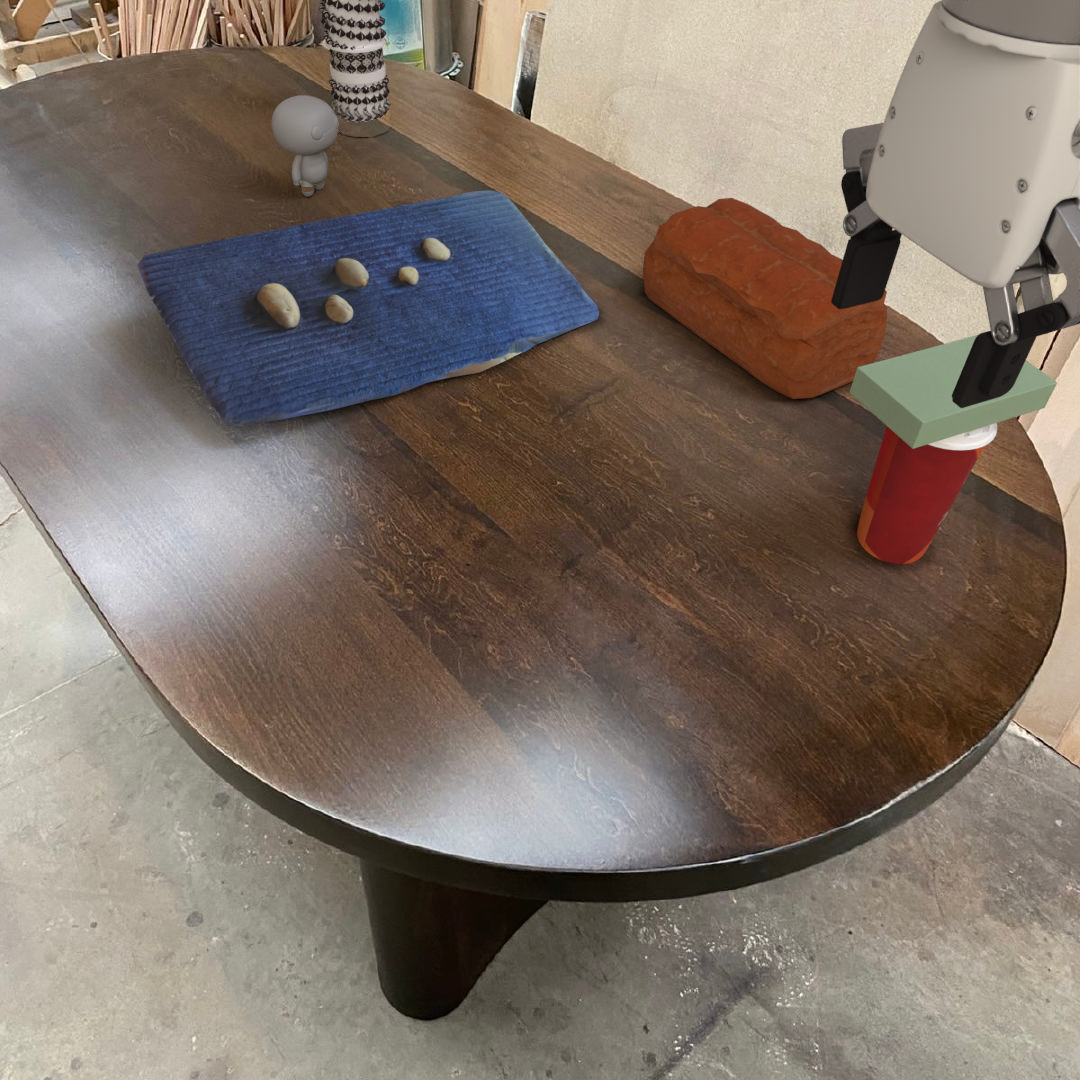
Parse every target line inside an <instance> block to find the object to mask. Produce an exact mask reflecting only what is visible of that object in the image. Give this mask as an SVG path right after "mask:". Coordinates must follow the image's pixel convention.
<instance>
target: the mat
mask: <svg viewBox="0 0 1080 1080" xmlns="http://www.w3.org/2000/svg"><path fill="white" fill-rule="evenodd" d="M137 269H138V271H139V274H140V276H141V280H142V281H143V284H144V287H145V289H146V292H147V293H148V296H149V298H150V299H151V301H152V302H153V304H154V306H155V307H156V309H157V311H158V313H159V315H160V316H161V318H162V320H163V321H164V323H165V325H166V327H167V329H168V331H169V333H170V335H171V336H172V339H173V341H174V343H175V345H176V348H177V349H178V351H179V353H180V355H181V357H182V358H183V360H184V362H185V363H186V366H187V367H188V368H189V371H190V372H191V373H192V375H193V377H194V379H195V380H196V382H197V383H198V386H199V388H200V389H201V391H202V393H204V395H205V397H206V399H207V400H208V402H209V403H210V406H211V407H212V409H213V411H214V412H215V414H216V415H217V417H218V418H219V419H220V420H221V421H222V422H224V423H225V424H226V425H229V426H236V427H243V426H247V425H248V426H249V425H254V424H260V423H261V424H262V423H267V422H268V423H269V422H273V421H274V422H275V421H280V420H285V419H290V418H296V417H302V416H306V415H311V414H317V413H322V412H328V411H333V410H336V409H341V408H345V407H349V406H353V405H357V404H362V403H364V402H369V401H373V400H378V399H383V398H389V397H392V396H397V395H399V394H400V395H401V394H402V393H406V392H408V391H410V390H413V389H416V388H418V387H420V386H423V385H425V384H428V383H433V382H436V381H440V380H441V381H442V380H445V379H449V378H455V377H461V376H469V375H475V374H480V373H482V372H484V371H486V370H488V369H491V368H493V367H495V366H497V365H499V364H502V363H504V362H506V361H508V360H510V359H512V358H514V357H516V356H518V355H520V354H522V353H525V352H527V351H529V350H530V349H532V348H534V347H535V346H537V345H539V344H542V343H544V342H546V341H549V340H551V339H553V338H556V337H558V336H560V335H563V334H566V333H568V332H571V331H573V330H575V329H579V328H580V327H583V326H585V325H589V324H591V323H592V322H595V321H598V319H599V316H600V309H599V307H598V305H597V304H596V302H595V301H594V300H593V299H592V298H591V297H590V296H589V295H588V293H586V291H585V290H584V288H583V287H582V285H581V283H580V282H579V280H578V279H577V278H576V277H575V276H574V275H573V273H571V271H570V270H569V269H568V268H567V267H566V266H565V265H564V264H563V263H562V261H561V260H560V259H559V258H558V256H557V255H556V254H555V253H554V252H553V250H552V249H551V248H550V247H549V246H548V245H547V244H546V243H545V241H544V240H543V239H542V237H541V236H540V235H539V233H538V232H537V231H536V229H535V228H534V227H533V225H532V224H531V223H530V222H529V221H528V219H527V218H526V217H525V216H524V214H523V213H522V212H521V211H520V209H519V208H518V207H517V205H515V203H514V202H513V201H512V200H511V199H510V198H509V197H508V196H507V195H506V194H504V193H502V192H499V191H495V190H476V191H468V192H464V193H460V194H455V195H452V196H447V197H441V198H440V197H439V198H434V199H430V200H424V201H418V202H411V203H407V204H400V205H395V206H393V207H387V208H382V209H377V210H370V211H365V212H359V213H355V214H349V215H348V214H347V215H342V216H338V217H333V218H331V217H330V218H326V219H325V218H324V219H322V220H316V221H311V222H303V223H300V224H298V225H297V224H296V225H290V226H285V227H281V228H277V229H269V230H268V229H267V230H265V231H261V232H253V233H249V234H243V235H238V236H233V237H227V238H221V239H215V240H209V241H206V242H201V243H195V244H190V245H184V246H180V247H175V248H171V249H166V250H162V251H158V252H153V253H149V254H145V255H144V256H143V257H142V258H141V259H140V261H139V262H138V264H137Z"/></svg>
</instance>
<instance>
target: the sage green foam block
mask: <svg viewBox="0 0 1080 1080" xmlns="http://www.w3.org/2000/svg"><path fill="white" fill-rule="evenodd" d="M978 335H979V334H975V335H971V336H968V337H965V338H961V339H957V340H953V341H950V342H946V343H942V344H938V345H935V346H931V347H928V348H927V347H926V348H924V349H919V350H917V351H913V352H909V353H906V354H902V355H898V356H895V357H891V358H887V359H883V360H880V361H874V363H872V364H868V365H864V366H860V367H858V368H857V370H856V373H855V377H854V380H853V381H852V382H851V386H850V390H849V394H850V395H851V396H852V397H853V398H854V399H856V400H857V401H858V402H859V403H860V404H861V405H862V406H863V407H865V408H866V410H868V411H869V412H870V413H872V415H874V416H875V417H876V418H877V419H878V420H879V421H880V422H882V423H883V424H884V425H885V427H886V426H887V427H889V428H890V429H891V430H892V431H893V432H894V433H895V434H896V435H898V436H899V437H900V438H901V439H902V440H903V441H904V442H906V443H907V444H908V445H909V446H910V447H911V448H912V449H914V448H917V447H920V446H924V445H927V444H930V443H933V442H937V441H940V440H943V439H946V438H949V437H953V436H956V435H959V434H962V433H966V432H969V431H972V430H975V429H978V428H982V427H985V426H988V425H991V424H995V423H997V424H998V423H1000V422H1004V421H1007V420H1011V419H1014V418H1017V417H1020V416H1023V415H1027V414H1031V413H1033V412H1036V411H1040V410H1042V409H1045V408H1046V406H1047V405H1048V402H1049V400H1050V398H1051V396H1052V394H1053V392H1054V390H1055V388H1056V386H1057V385H1058V382H1057V381H1056V380H1054V379H1053V378H1052V377H1050V376H1049V375H1047V374H1046V373H1045V372H1043V371H1042V370H1041V369H1039V368H1038V367H1036V366H1035V365H1034V364H1032V363H1031V362H1029V361H1028V360H1027V359H1026V361H1025V363H1024V365H1023V367H1022V369H1021V371H1020V373H1019V376H1018V378H1017V380H1016V382H1015V384H1014V386H1013V387H1012V388H1011V390H1010V391H1009V392H1007V393H1006V394H1005V395H1003V396H1001V397H998V398H995V399H991V400H988V401H985V402H981V403H978V404H975V405H971V406H968V407H964V408H960V407H959V406H957V405H956V404H955V403H954V402H953V401H952V399H953V398H952V393H953V391H954V389H955V386H956V384H957V381H958V379H959V376H960V374H961V372H962V369H963V367H964V364H965V362H966V360H967V357H968V355H969V352H970V350H971V348H972V345H973V343H974V340H975V338H976V337H977V336H978Z"/></svg>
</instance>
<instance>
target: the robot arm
mask: <svg viewBox="0 0 1080 1080" xmlns="http://www.w3.org/2000/svg"><path fill="white" fill-rule="evenodd" d="M841 144H842V145H841V146H842V148H841V149H842V163H843V165H842V166H843V170H844V171H845V172H844V174H843V175H842V177H841V181H840V183H841V184H840V186H841V191H842V195H843V199H844V203H845V206H846V210H847V214H846V215H844V218H843V221H842V227H843V231H844V233H845V235H846V236H847V237H850V238H849V239H848V240H847V244H846V247H845V251H844V254H843V257H842V260H843V261H842V264H841V268H840V271H839V275H838V279H837V282H836V286H835V289H834V293H833V296H832V300H831V303H832V304H833V305H834V306H835V307H836V308H838V309H845V308H850V307H854V306H858V305H862V304H866V303H870V302H874V301H878V300H880V299H881V298H882V297H883V295H884V292H885V290H886V288H887V285H888V282H889V279H890V276H891V273H892V270H893V267H894V264H895V260H896V257H897V254H898V253H899V248H900V245H901V239H902V236H903V237H905V238H906V239H908V240H909V241H910V242H912V243H913V244H915V245H916V246H918V247H920V248H921V249H922V250H924V251H925V252H927V253H928V254H930V255H931V256H933V257H934V258H936V259H937V260H939V261H940V262H942V263H943V264H945V265H946V266H948V267H949V268H950V269H952V270H954V272H956V273H958V274H959V275H961V276H963V277H964V278H966V279H967V280H968V281H971V282H972V283H974V284H975V285H977V286H980V287H982V290H983V295H984V302H985V307H986V312H987V317H988V323H989V329H990V330H987V331H985V332H981V333H979V334H977V335H978V336H977V337H976V338H975V340H974V343H973V345H972V348H971V350H970V352H969V355H968V357H967V360H966V362H965V364H964V367H963V369H962V372H961V374H960V376H959V379H958V381H957V384H956V386H955V389H954V391H953V393H952V398H953V399H952V401H953V402H954V403H955V404H956V405H957V406H959V407H960V408H964V407H968V406H971V405H975V404H978V403H981V402H985V401H988V400H991V399H995V398H998V397H1001V396H1003V395H1005V394H1006V393H1007V392H1009V391H1010V390H1011V388H1012V387H1013V386H1014V384H1015V382H1016V380H1017V378H1018V376H1019V373H1020V371H1021V369H1022V367H1023V365H1024V363H1025V361H1026V360H1027V358H1028V356H1029V354H1030V352H1031V350H1032V348H1033V346H1034V344H1035V342H1036V340H1037V338H1038V337H1040V336H1045V335H1047V334H1050V333H1053V332H1058V331H1060V330H1063V329H1067V328H1071V327H1074V326H1077V325H1080V0H939V1H937V2H935V3H934V4H933V5H932V7H931V9H930V11H929V13H928V15H927V17H926V19H925V20H924V23H923V25H922V27H921V29H920V31H919V33H918V35H917V37H916V40H915V41H914V44H913V45H912V48H911V50H910V53H909V54H908V57H907V59H906V62H905V64H904V67H903V69H902V71H901V74H900V77H899V79H898V82H897V84H896V87H895V89H894V92H893V95H892V97H891V100H890V102H889V106H888V109H887V112H886V114H885V117H884V120H883V122H879V123H873V124H869V125H864V126H858V127H853V128H847V129H846V130H844V132H843V134H842V137H841ZM1062 273H1063V275H1064V277H1065V279H1066V286H1065V288H1064V290H1063V291H1061V293H1060V294H1058V295H1057V297H1056V298H1055V299H1054V296H1053V291H1052V285H1051V279H1050V275H1061V274H1062ZM1017 284H1019V288H1020V294H1021V300H1022V305H1023V311H1022V312H1019V311H1018V306H1017V300H1016V295H1015V288H1014V285H1017Z"/></svg>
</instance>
